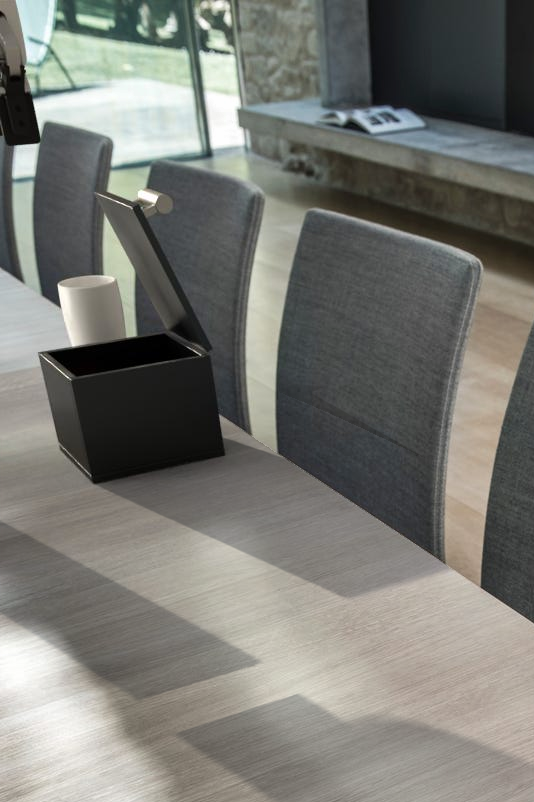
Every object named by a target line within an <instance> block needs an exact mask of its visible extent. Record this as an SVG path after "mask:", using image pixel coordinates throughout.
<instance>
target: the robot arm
mask: <svg viewBox="0 0 534 802" xmlns="http://www.w3.org/2000/svg"><path fill="white" fill-rule="evenodd" d="M21 22H22V21H21V18H20V13H19V9H18V5H17V0H0V137H2V138H3V142H4V144H5V145H6V146H9V147H16V146H17V147H18V146H28V145H29V146H30V145H38V144H40V143H41V142H42V137H41V133H40V127H39V123H38V118H37V113H36V109H35V108H36V107H35V104H34V98H33V94H32V90H31V86H30V82H29V80H28V76H27V75H26V73H27V69H25V68H26V64H27V62H28V57H27V49H26V43H25V38H24V37H25V36H24V32H23V27H22V23H21Z"/></svg>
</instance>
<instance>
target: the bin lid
mask: <svg viewBox="0 0 534 802" xmlns="http://www.w3.org/2000/svg"><path fill="white" fill-rule="evenodd" d="M93 194H94V197H95V198H96V201H97V202H98V204H99V206H100V207H101V209H102V211H103V213H104V215H105V217H106V219H107V221H108V223H109V225H110V226H111V228H112V230H113V232H114V234H115V236H116V238H117V239H118V241H119V244H120V245H121V247H122V250H123V251H124V252H125V255H126V256H127V258H128V260H129V262H130V264H131V266H132V268H133V269H134V272H135V273H136V275H137V277H138V279H139V280H140V283H141V284H142V286H143V288H144V290H145V293H146V294H147V296H148V298H149V300H150V301H151V303H152V305H153V308H154V309H155V311H156V312H157V315H158V316H159V318H160V321H161V322H162V323H163V326H164V328H165V329H166V330H167V331H171V332H172V333H174V334H175V335H177V336H179V337H180V338H182V339H184V340H185V341H187V342H189V343H190V344H192V345H194V346H195V347H197V348H199V349H200V350H202V351H204V352H205V353H209V352H211V351H212V350H213V349H214V348H213V346H212V344H211V342H210V340H209V339H208V336H207V334H206V332H205V330H204V328H203V326H202V324H201V323H200V321H199V319H198V316H197V315H196V313H195V311H194V308H193V307H192V305H191V303H190V301H189V298H188V297H187V294H186V293H185V291H184V289H183V287H182V285H181V284H180V282H179V280H178V278H177V276H176V274H175V271H174V270H173V267H172V266H171V263H170V262H169V260H168V258H167V256H166V254H165V252H164V250H163V248H162V245H161V244H160V242H159V241H158V238H157V236H156V234H155V233H154V230H153V228H152V226H151V224H150V223H149V220H148V219H147V218H150V217H151V216H153V215H155V214H157V213H159V214H162V215H168V214H170V213H171V212H172V211H173V208H174V202H173V199H172V198H171V197H170V196H169V195H167V194H164V193H161V192H159V191H156V190H153V189H150V188H146V187H145V188H142V189H140V190H139V191H138V194H137V199H135V200H133V201H132V200H130V199H127V198H124V197H122V196H119V195H117V194H114V193H111V192H109V191H106V190H103V189H102V188H99V189H96V190H95V191H93ZM142 208H143V209H142Z"/></svg>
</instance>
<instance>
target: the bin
mask: <svg viewBox="0 0 534 802" xmlns="http://www.w3.org/2000/svg"><path fill="white" fill-rule="evenodd" d="M37 356H38V359H39V364H40V368H41V372H42V377H43V381H44V386H45V390H46V395H47V399H48V403H49V408H50V413H51V417H52V420H53V421H52V422H53V426H54V430H55V434H56V438H57V443H58V447H59V451H60V452H62V453H63V455H64V456H65V457H66V458H67V459H68V460H69V461H70V462H71V463H72V464H73V465H74V466H75V467H76V468H77V469H78V470H79V471H80V472H81V473H82V474H83V475H84V476H85V477H86V478H87V479H88V480H89V481H90V482H91V483H92V484H99V483H103V482H108V481H113V480H116V479H121V478H125V477H131V476H134V475H140V474H143V473H145V474H146V473H149V472H153V471H157V470H163V469H167V468H172V467H176V466H180V465H186V464H191V463H194V462H199V461H204V460H209V459H213V458H218V457H222V456H225V455H226V451H225V444H224V438H223V431H222V425H221V417H220V411H219V404H218V397H217V393H216V392H217V391H216V384H215V378H214V370H213V364H212V357H211V355H210V354H208V352H205V351H203V350H202V349H200V348H198V347H197V346H195V345H193V344H192V343H190V342H188V341H187V340H185V339H183V338H182V337H180V336H178V335H177V334H175V333H173V332H172V331H170V330H166V331H160V332H159V331H158V332H153V333H148V334H140V335H135V336H129V337H126V338H122V339H116V340H110V341H104V342H98V343H92V344H86V345H79V346H73V347H72V346H68V347H61V348H55V349H51V350H50V349H49V350H43V351H38V352H37Z"/></svg>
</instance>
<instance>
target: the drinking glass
mask: <svg viewBox="0 0 534 802" xmlns="http://www.w3.org/2000/svg"><path fill="white" fill-rule="evenodd" d="M57 290H58V296H59V303H60V308H61V313H62V316H63V320H64V324H65V328H66V332H67V335H68V338H69V341H70V345H71V347H73V346H79V345H86V344H92V343H98V342H104V341H110V340H116V339H122V338H127V331H126V329H127V328H126V320H125V313H124V307H123V302H122V295H121V292H120V287H119V283H118V280H117V278H116V277H114V276H111V275H110V276H109V275H102V274H101V275H95V274H93V275H83V276H82V275H81V276H75V277H70V278H66V279H63V280H61V281H59V282H58V283H57Z"/></svg>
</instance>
